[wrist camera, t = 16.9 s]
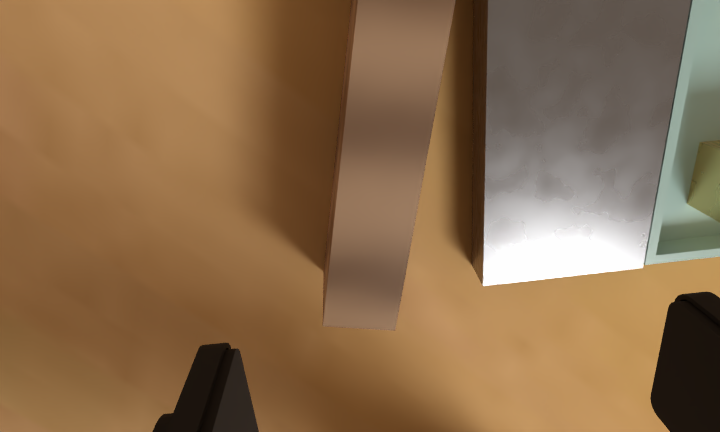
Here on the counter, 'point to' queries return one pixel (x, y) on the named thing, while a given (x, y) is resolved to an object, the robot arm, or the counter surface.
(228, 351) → the robot arm
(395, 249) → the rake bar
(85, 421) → the counter surface
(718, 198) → the brass block
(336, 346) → the counter surface
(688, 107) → the teal tray
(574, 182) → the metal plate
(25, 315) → the counter surface
